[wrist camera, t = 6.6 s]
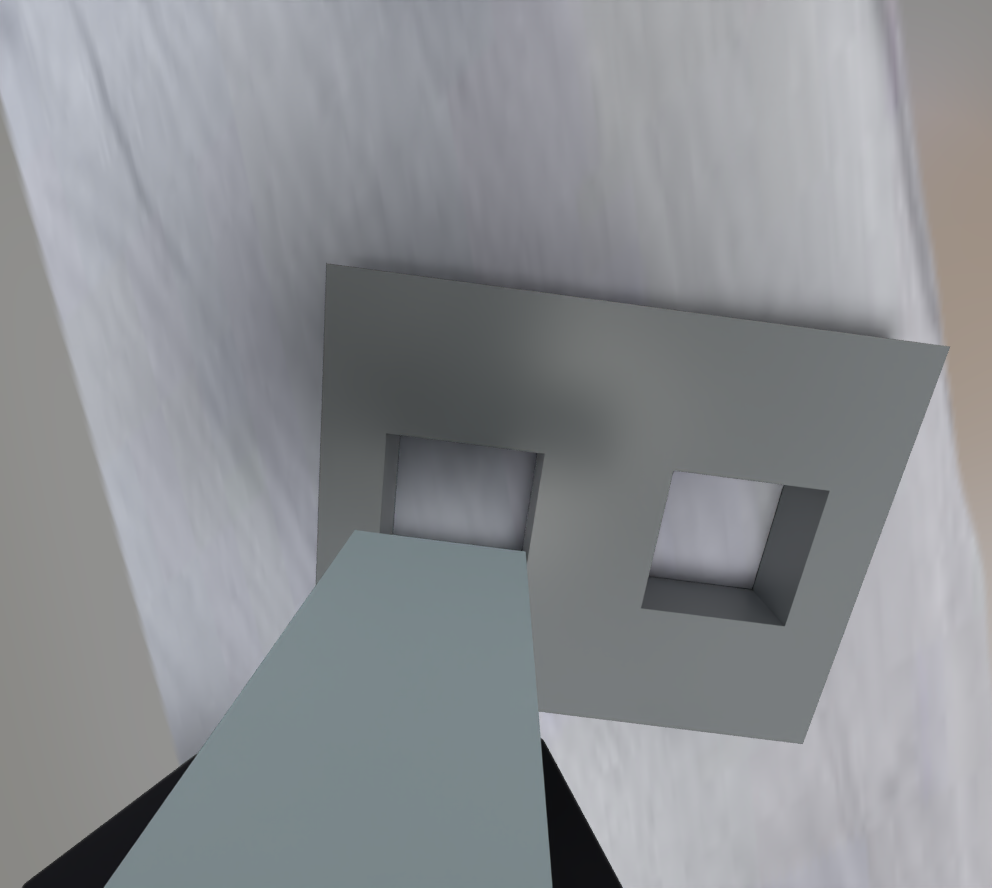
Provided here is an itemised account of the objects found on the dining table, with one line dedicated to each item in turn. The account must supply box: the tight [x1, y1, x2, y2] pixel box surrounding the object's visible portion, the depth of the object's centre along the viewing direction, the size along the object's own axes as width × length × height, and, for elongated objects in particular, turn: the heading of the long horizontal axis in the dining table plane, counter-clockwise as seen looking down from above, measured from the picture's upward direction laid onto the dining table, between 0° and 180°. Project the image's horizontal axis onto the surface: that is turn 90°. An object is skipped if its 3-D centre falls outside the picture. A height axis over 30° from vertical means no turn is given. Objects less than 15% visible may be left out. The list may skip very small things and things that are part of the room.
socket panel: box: [316, 263, 950, 744], centre depth 19 cm, size 16×20×3 cm
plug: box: [104, 530, 552, 888], centre depth 7 cm, size 4×4×10 cm
